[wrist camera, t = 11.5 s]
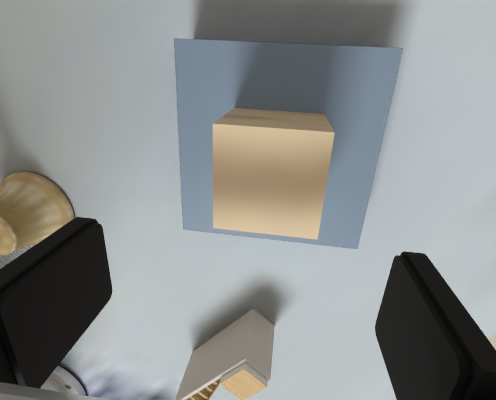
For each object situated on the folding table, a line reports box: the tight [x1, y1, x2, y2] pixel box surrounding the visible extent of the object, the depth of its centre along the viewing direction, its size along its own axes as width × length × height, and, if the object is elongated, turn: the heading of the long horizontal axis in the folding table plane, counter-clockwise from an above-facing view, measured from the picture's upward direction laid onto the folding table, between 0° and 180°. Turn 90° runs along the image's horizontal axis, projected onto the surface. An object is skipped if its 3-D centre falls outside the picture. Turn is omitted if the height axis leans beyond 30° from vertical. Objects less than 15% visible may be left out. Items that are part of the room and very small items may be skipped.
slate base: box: [174, 38, 403, 249], centre depth 24 cm, size 14×14×4 cm
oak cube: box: [213, 108, 335, 240], centre depth 19 cm, size 6×6×6 cm
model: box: [175, 308, 274, 400], centre depth 32 cm, size 3×11×8 cm, turn 137°
